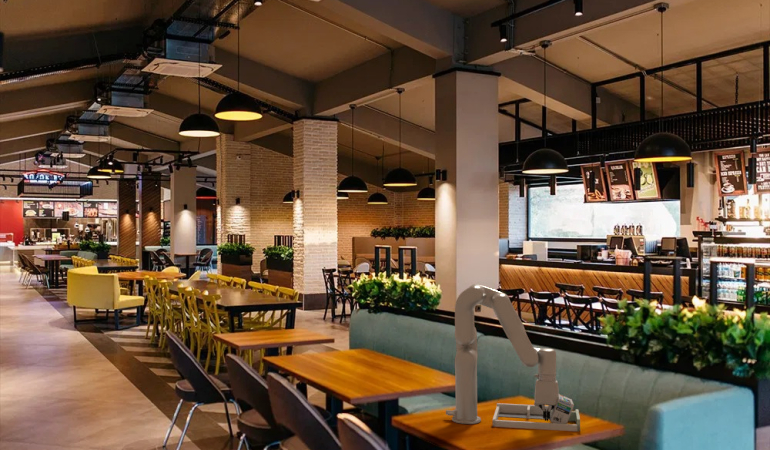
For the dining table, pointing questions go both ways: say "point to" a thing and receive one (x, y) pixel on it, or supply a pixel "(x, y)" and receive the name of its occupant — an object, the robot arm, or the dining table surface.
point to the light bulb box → (562, 410)
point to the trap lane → (531, 413)
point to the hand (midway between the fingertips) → (546, 420)
